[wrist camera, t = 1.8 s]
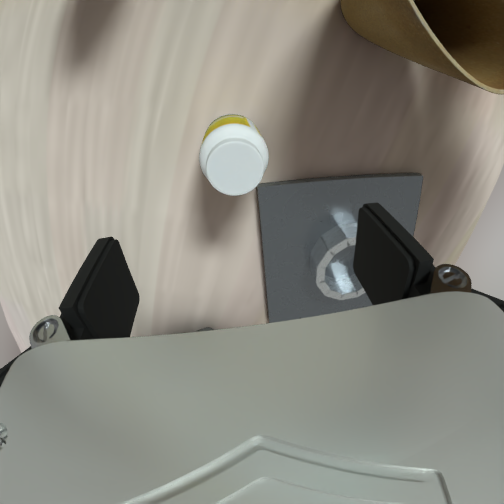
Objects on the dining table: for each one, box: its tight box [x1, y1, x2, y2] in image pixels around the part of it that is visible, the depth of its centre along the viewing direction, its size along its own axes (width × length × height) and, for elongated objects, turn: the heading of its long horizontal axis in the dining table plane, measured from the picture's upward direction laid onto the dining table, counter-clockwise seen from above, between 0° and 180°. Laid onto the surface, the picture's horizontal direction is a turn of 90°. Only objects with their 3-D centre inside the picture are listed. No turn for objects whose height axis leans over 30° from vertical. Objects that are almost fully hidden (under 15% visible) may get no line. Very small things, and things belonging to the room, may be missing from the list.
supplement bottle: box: [199, 114, 269, 196], centre depth 23 cm, size 5×5×10 cm
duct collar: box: [257, 173, 423, 323], centre depth 34 cm, size 20×20×4 cm
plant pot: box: [341, 0, 504, 94], centre depth 13 cm, size 15×15×16 cm
